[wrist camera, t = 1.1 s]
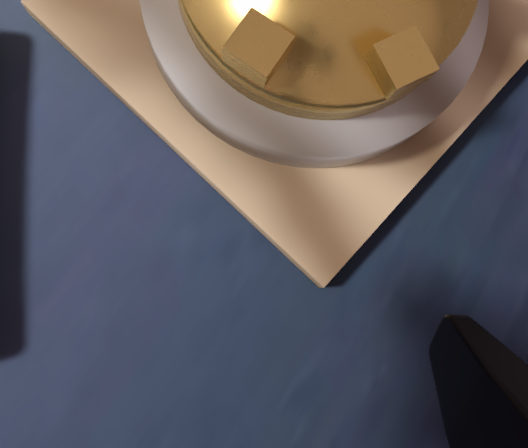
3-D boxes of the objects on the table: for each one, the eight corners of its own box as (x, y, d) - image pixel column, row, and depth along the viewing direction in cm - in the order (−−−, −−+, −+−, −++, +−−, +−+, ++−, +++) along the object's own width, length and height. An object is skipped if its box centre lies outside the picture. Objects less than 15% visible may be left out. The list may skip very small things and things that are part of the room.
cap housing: (318, 287, 22) (335, 288, 19) (29, 14, 22) (0, -29, 19) (552, 26, 24) (598, -9, 22) (295, -214, 25) (306, -281, 22)
